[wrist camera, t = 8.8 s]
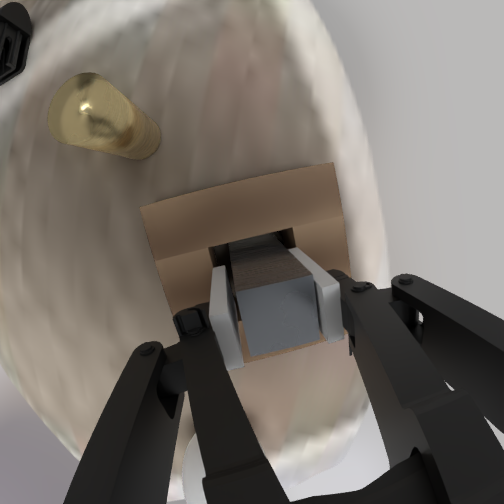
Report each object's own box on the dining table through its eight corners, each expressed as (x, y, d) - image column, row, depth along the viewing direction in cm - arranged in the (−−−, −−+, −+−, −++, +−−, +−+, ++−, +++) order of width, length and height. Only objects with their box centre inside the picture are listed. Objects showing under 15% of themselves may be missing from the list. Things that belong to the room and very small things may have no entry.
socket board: (154, 202, 19) (139, 207, 16) (313, 165, 20) (333, 162, 16) (198, 344, 22) (195, 372, 19) (335, 309, 23) (355, 331, 19)
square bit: (228, 242, 21) (235, 292, 11) (270, 233, 21) (313, 274, 11) (237, 282, 21) (250, 357, 12) (277, 273, 22) (320, 339, 12)
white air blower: (259, 444, 26) (286, 579, 9) (191, 446, 26) (189, 582, 8) (261, 400, 25) (299, 569, 7) (181, 402, 24) (167, 572, 6)
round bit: (117, 126, 18) (46, 91, 8) (156, 112, 18) (107, 61, 8) (124, 165, 18) (51, 155, 9) (164, 152, 19) (115, 127, 9)
